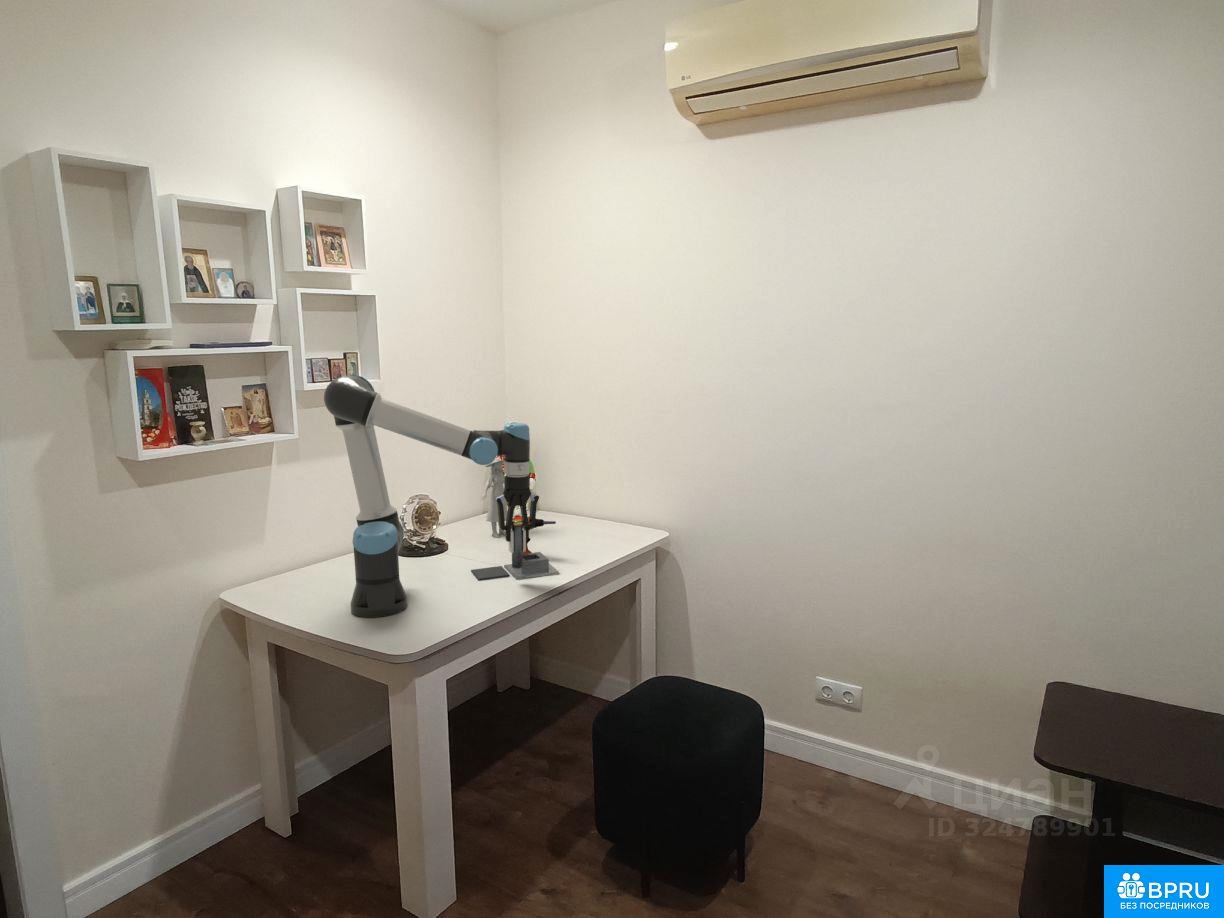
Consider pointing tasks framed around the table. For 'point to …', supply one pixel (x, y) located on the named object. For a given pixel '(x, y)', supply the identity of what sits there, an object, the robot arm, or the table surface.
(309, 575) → the table surface
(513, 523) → the gold capped cylinder
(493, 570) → the mat
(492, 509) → the character figure
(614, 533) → the table surface
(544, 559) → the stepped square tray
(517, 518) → the toy drill
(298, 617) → the table surface
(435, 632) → the table surface
